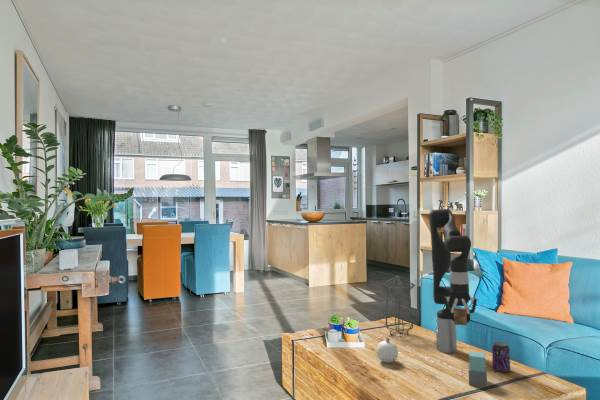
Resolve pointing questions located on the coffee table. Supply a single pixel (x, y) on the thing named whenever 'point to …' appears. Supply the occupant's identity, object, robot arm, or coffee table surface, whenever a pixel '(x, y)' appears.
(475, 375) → the tower base
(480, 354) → the tower mid
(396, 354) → the ornament
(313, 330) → the coffee table surface
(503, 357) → the beverage can
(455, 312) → the walnut block
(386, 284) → the geometric lantern
